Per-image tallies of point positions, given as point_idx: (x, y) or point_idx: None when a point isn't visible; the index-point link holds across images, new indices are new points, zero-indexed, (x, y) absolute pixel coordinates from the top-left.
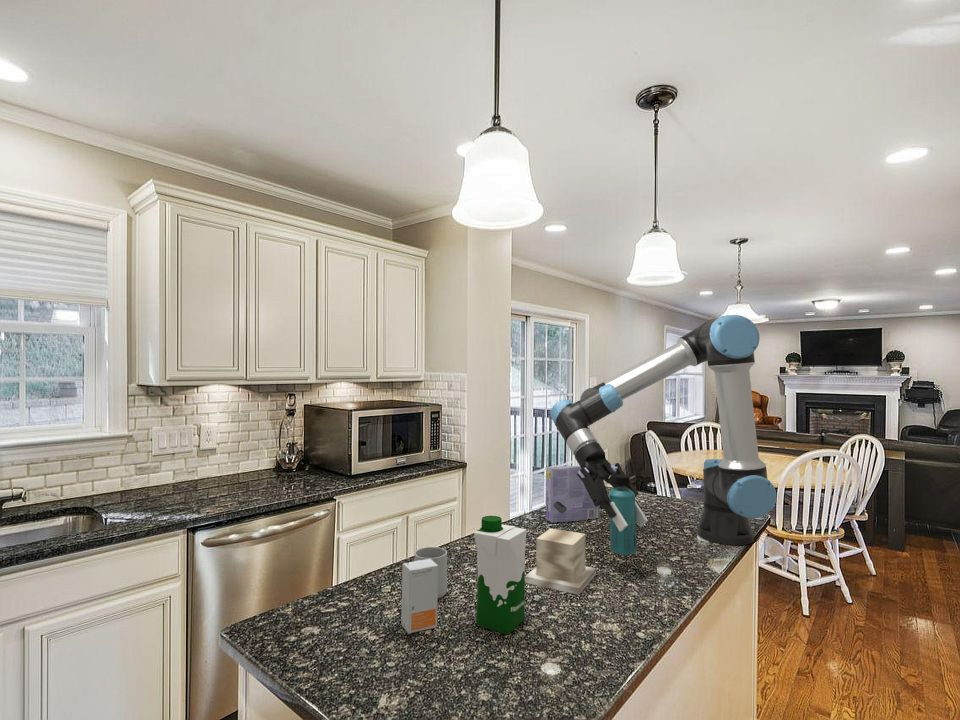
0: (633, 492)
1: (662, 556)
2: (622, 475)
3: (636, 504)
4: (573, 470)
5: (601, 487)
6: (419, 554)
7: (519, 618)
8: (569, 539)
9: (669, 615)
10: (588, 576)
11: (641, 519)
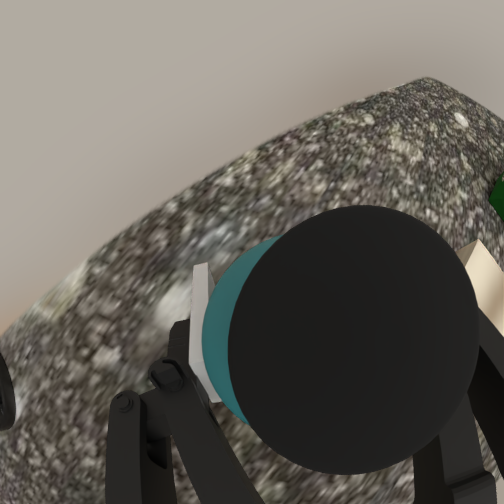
0: (228, 283)
1: (124, 378)
2: (381, 325)
3: (199, 323)
4: None
5: (467, 395)
6: None
7: (496, 185)
8: (479, 283)
9: (302, 139)
10: None
11: (212, 288)
